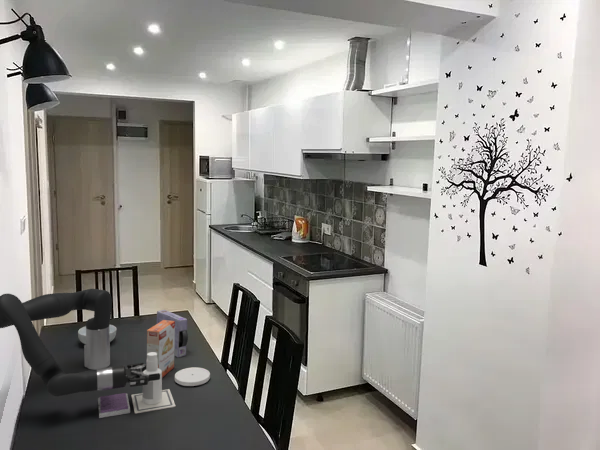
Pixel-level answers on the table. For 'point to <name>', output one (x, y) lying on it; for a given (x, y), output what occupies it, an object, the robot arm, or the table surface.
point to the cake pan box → (176, 331)
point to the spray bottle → (154, 388)
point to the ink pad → (113, 405)
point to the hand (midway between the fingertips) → (158, 371)
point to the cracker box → (162, 344)
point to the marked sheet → (164, 403)
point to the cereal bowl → (83, 333)
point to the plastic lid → (192, 376)
